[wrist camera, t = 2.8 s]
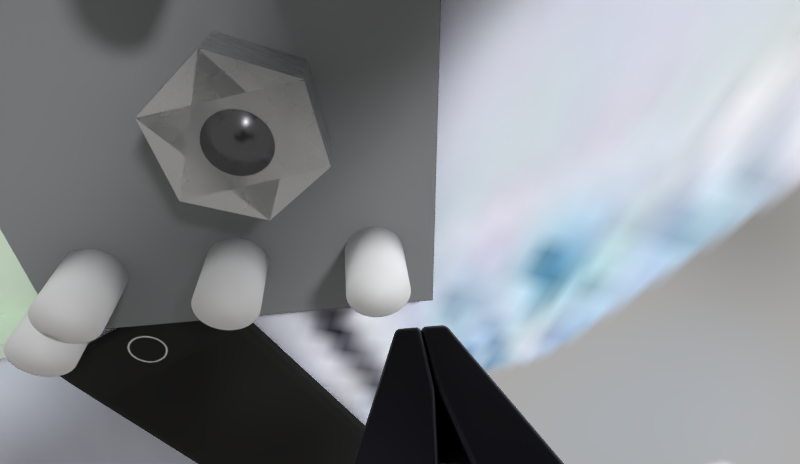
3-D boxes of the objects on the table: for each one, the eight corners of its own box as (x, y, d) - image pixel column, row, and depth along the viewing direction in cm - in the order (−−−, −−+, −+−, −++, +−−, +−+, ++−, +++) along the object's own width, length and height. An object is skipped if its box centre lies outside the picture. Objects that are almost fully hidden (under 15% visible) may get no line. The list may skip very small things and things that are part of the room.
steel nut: (292, 11, 15) (287, 27, 14) (341, 175, 19) (342, 204, 17) (133, 49, 15) (108, 68, 14) (210, 205, 19) (198, 236, 17)
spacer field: (441, -251, 13) (471, -288, 10) (429, 288, 23) (442, 343, 20) (-596, -252, 11) (-911, -297, 8) (-105, 334, 21) (-170, 401, 19)
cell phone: (208, 273, 22) (203, 287, 21) (404, 457, 32) (406, 471, 31) (58, 355, 24) (49, 371, 23) (288, 506, 33) (287, 521, 33)
